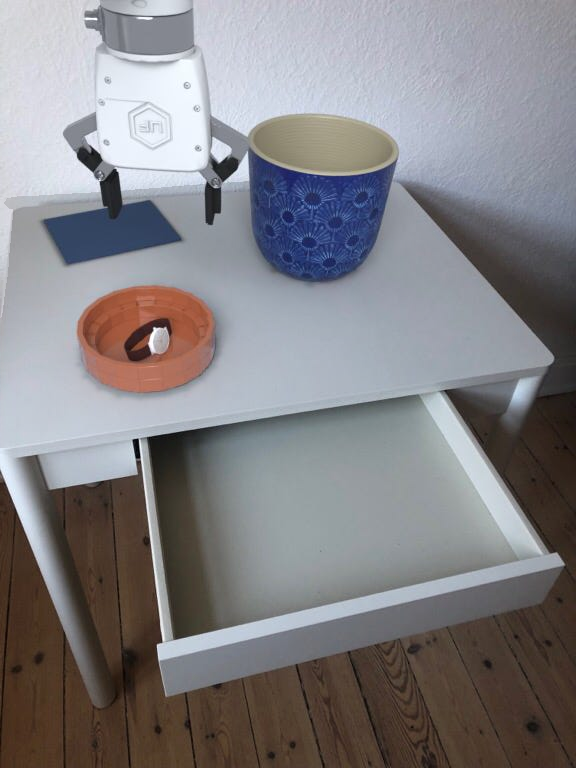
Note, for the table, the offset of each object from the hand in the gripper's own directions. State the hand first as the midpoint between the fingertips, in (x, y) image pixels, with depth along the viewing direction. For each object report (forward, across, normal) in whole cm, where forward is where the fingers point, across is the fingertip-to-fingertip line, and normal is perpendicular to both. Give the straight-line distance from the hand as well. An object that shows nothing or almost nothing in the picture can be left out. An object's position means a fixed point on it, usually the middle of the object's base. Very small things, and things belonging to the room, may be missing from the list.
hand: (163, 215), depth 65 cm
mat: (+21, -15, +32) cm, 41 cm away
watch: (+20, -4, +3) cm, 21 cm away
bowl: (+21, -4, +3) cm, 21 cm away
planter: (+21, +17, +26) cm, 38 cm away
